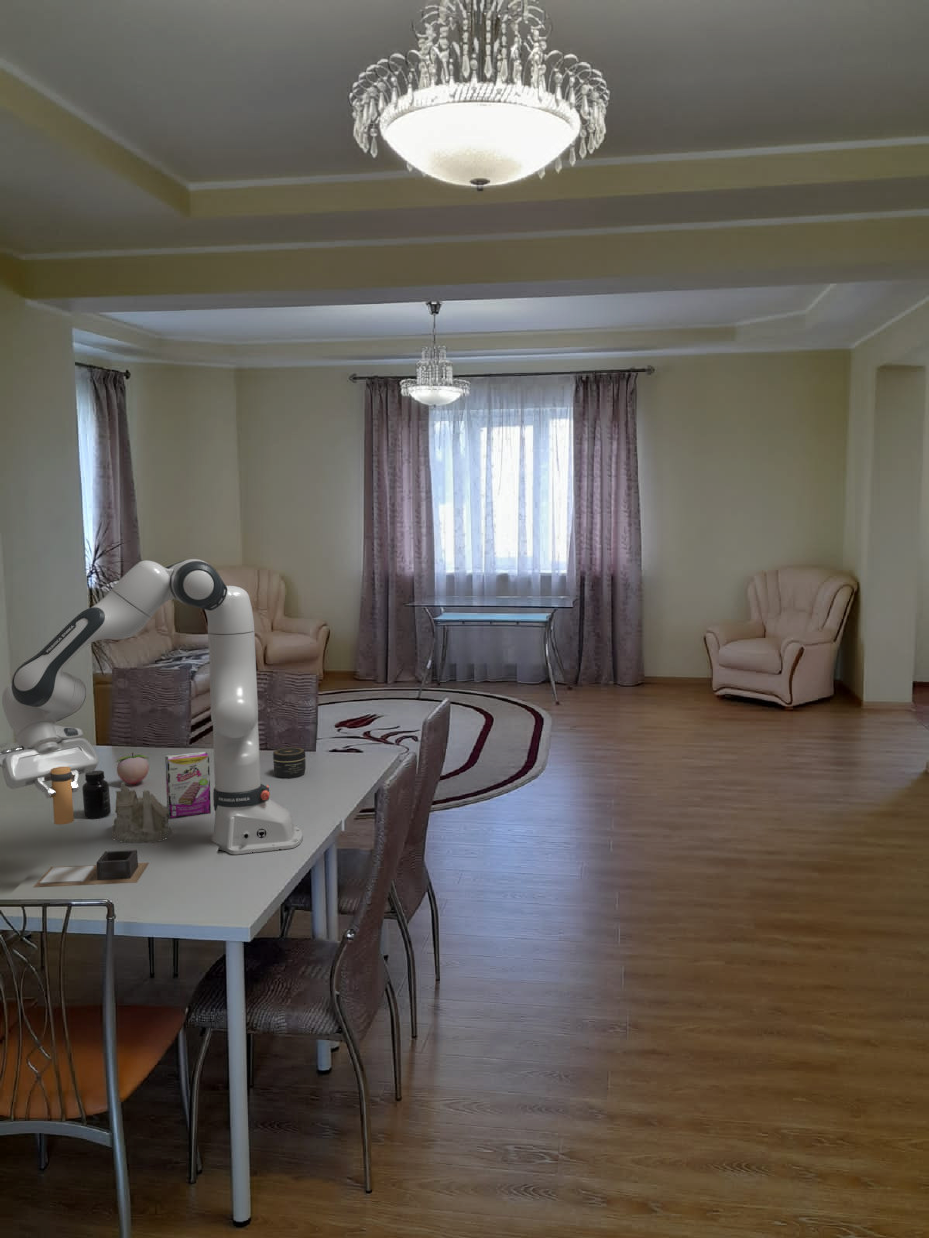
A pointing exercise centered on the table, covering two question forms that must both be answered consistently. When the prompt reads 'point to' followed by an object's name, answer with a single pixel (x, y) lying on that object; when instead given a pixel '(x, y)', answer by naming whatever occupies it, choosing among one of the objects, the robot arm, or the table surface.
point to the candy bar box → (188, 784)
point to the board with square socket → (97, 871)
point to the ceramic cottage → (139, 817)
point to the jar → (289, 762)
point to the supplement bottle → (96, 795)
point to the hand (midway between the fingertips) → (63, 793)
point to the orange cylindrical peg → (62, 795)
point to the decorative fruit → (132, 768)
